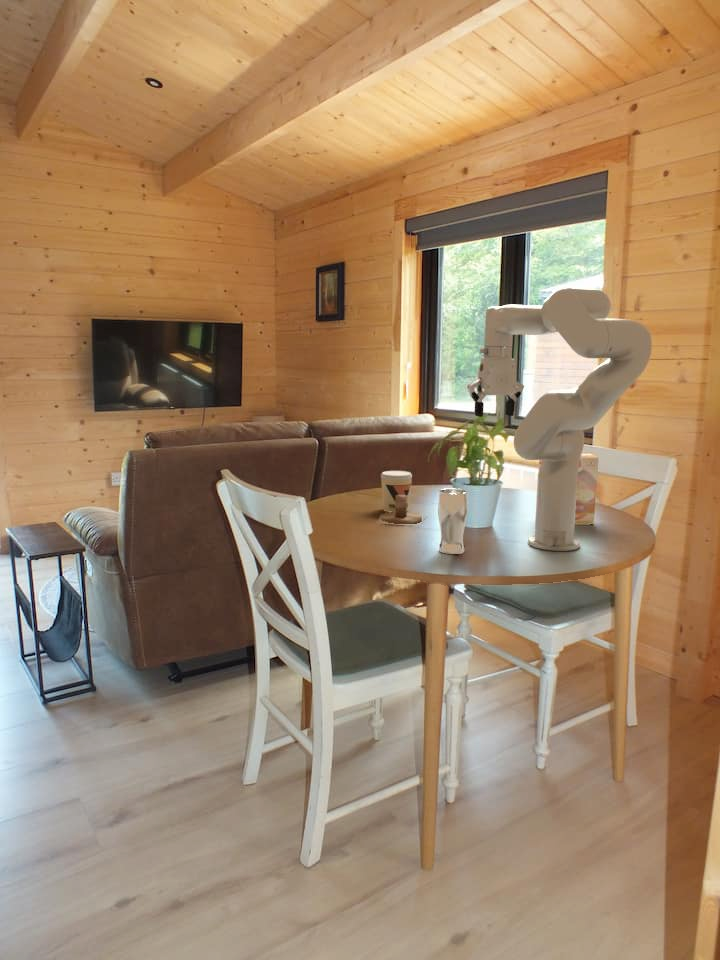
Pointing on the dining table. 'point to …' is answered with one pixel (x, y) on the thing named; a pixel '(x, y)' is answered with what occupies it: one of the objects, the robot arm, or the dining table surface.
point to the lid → (401, 513)
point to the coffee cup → (395, 488)
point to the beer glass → (452, 519)
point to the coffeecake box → (585, 489)
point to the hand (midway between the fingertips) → (494, 415)
